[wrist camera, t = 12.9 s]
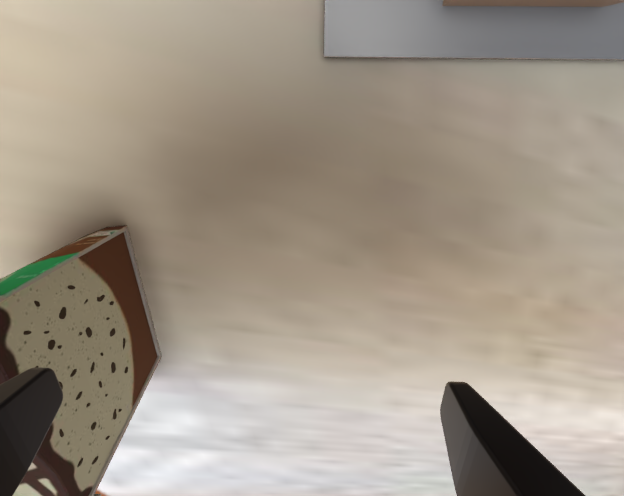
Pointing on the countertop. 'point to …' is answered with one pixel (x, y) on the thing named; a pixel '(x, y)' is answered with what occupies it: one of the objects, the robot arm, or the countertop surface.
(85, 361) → the food container
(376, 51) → the board
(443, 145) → the countertop surface
